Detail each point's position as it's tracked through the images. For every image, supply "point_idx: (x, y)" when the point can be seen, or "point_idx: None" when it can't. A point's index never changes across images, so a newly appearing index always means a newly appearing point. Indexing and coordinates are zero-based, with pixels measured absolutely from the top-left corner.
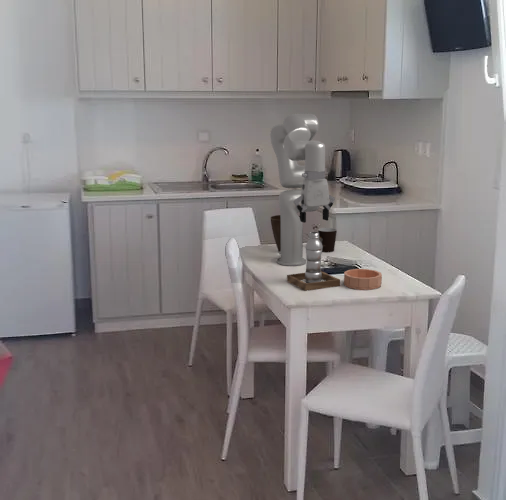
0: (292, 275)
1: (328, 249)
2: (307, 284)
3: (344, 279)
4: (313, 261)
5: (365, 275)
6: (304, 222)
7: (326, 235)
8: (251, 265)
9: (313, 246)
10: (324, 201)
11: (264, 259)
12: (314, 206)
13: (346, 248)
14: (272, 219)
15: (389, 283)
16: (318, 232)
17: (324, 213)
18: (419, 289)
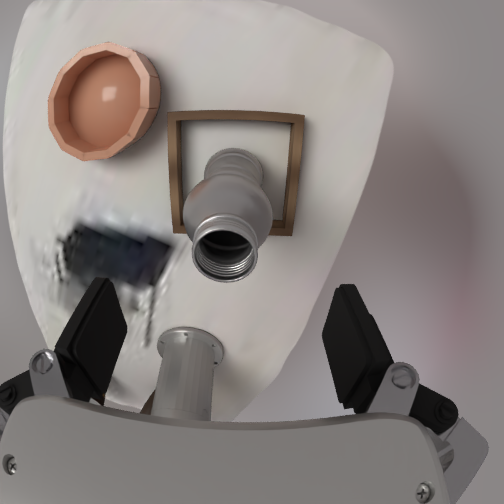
0: (277, 227)
1: None
2: (297, 114)
3: (154, 108)
4: (246, 171)
5: (75, 139)
6: (349, 285)
7: None
8: (280, 359)
9: (252, 188)
10: (61, 462)
11: (232, 378)
12: (279, 424)
13: None
14: None
15: None
16: (103, 404)
17: (102, 349)
18: (30, 37)
